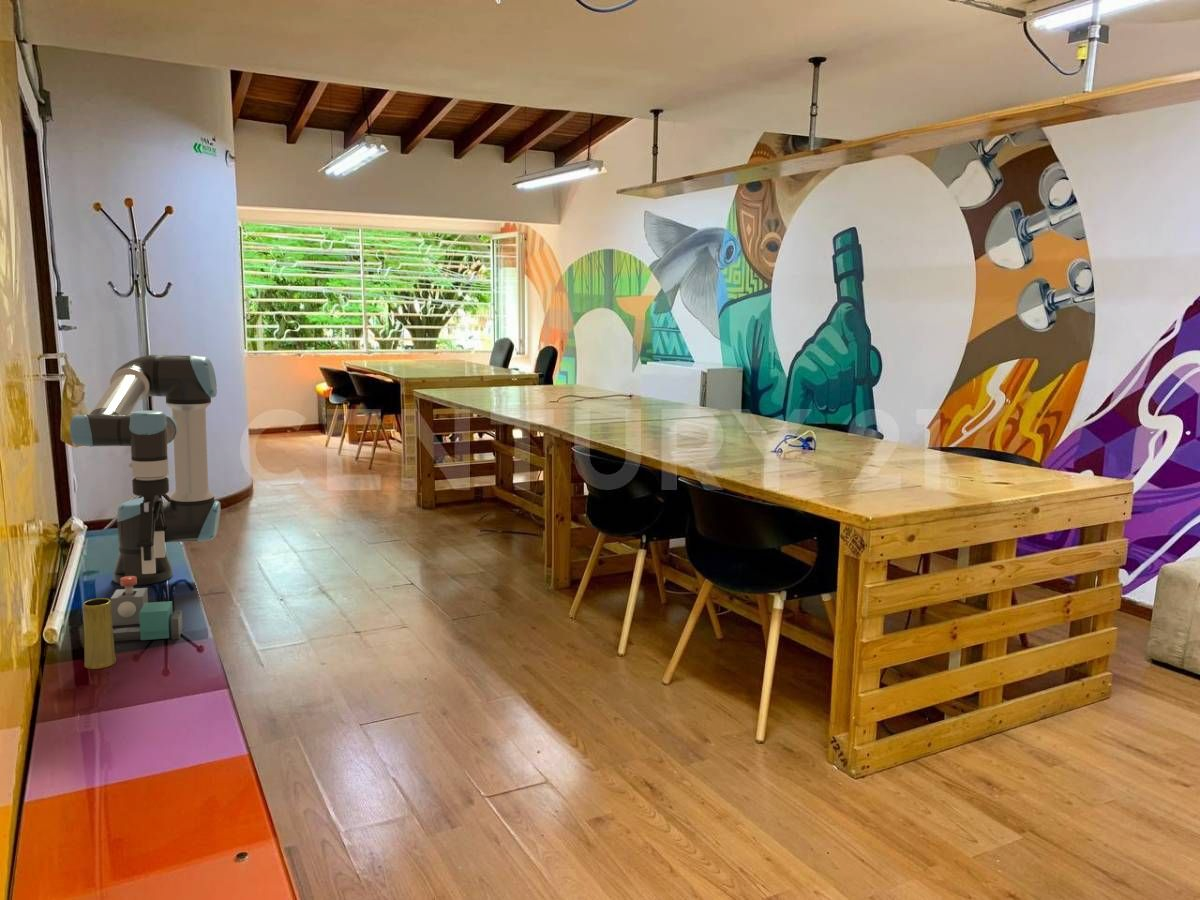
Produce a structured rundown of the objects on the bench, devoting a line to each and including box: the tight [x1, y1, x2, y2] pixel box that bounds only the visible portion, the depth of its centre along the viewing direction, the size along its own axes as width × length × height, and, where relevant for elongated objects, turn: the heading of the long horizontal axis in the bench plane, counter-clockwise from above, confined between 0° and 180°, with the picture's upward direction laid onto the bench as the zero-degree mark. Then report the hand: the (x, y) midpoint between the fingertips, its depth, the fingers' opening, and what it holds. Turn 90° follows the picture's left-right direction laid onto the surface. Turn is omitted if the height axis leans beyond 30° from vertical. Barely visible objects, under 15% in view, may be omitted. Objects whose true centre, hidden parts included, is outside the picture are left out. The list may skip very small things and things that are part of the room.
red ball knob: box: [120, 576, 137, 595], centre depth 212 cm, size 4×4×5 cm
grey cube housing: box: [110, 587, 149, 627], centre depth 213 cm, size 7×7×7 cm
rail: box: [113, 609, 183, 642], centre depth 202 cm, size 19×6×5 cm, turn 109°
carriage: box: [139, 600, 174, 641], centre depth 203 cm, size 6×7×7 cm
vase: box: [82, 597, 117, 670], centre depth 186 cm, size 6×6×14 cm
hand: (154, 565), depth 201 cm, fingers open, 13 cm apart
